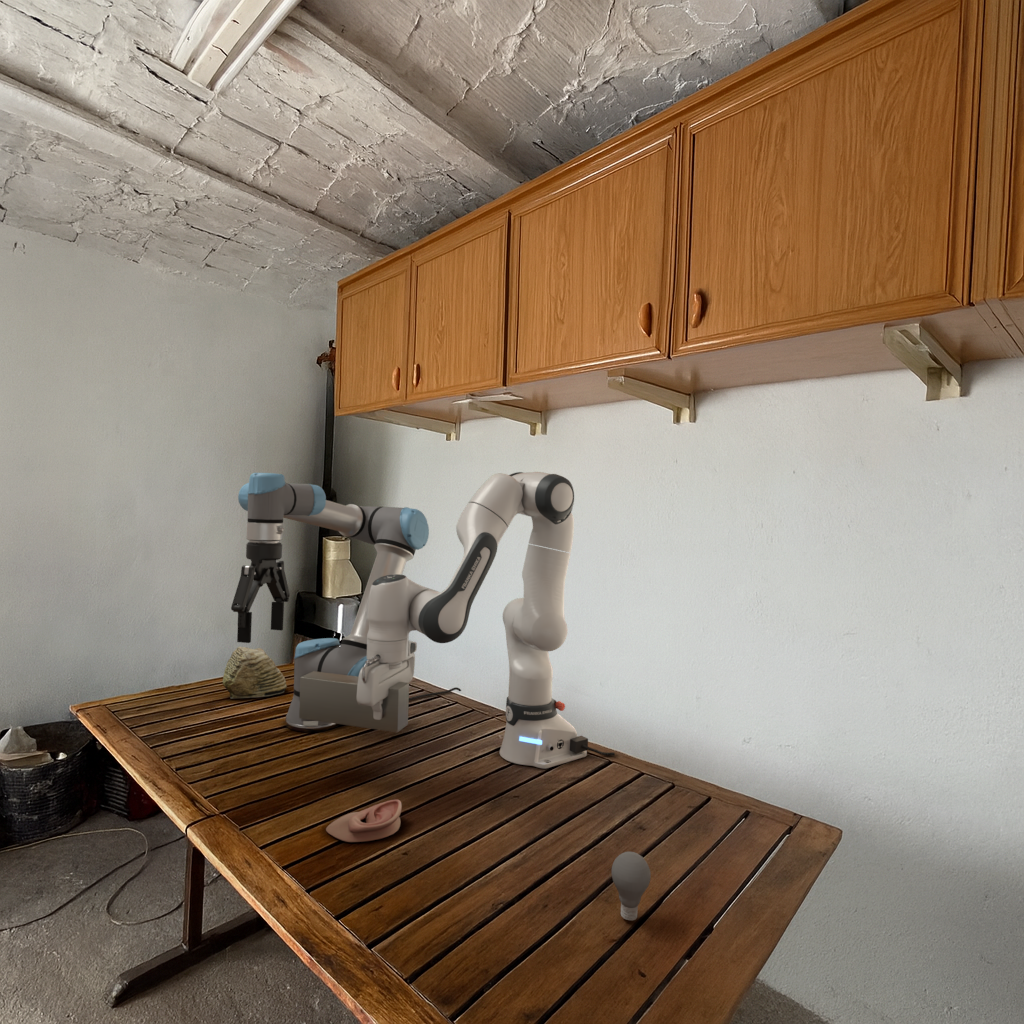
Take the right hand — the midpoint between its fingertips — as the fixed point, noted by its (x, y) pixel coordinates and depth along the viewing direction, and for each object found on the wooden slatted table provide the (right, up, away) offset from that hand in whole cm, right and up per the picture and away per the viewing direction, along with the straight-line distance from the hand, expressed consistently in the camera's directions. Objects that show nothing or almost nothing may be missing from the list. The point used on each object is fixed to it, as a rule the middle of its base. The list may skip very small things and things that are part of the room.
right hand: (385, 713), depth 137 cm
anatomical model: (-1, -17, -15) cm, 23 cm away
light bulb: (+46, -20, -39) cm, 63 cm away
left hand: (-29, +16, +5) cm, 34 cm away
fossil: (-53, -14, +61) cm, 82 cm away
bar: (-8, -2, +2) cm, 8 cm away
